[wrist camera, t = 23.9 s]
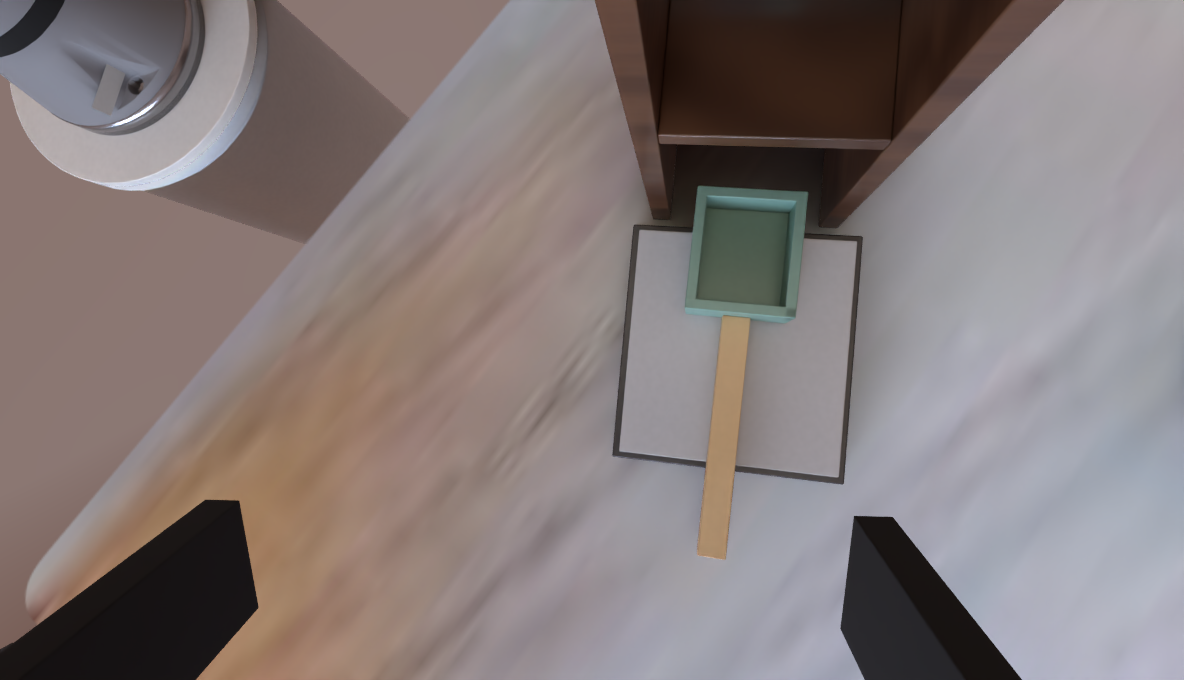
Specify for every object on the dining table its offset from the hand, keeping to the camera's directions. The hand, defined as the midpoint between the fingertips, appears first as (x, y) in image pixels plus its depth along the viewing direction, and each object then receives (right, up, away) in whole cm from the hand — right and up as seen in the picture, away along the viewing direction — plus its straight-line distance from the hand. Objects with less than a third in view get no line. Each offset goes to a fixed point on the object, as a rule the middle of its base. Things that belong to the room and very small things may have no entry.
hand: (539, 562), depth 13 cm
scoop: (+9, +3, +23) cm, 25 cm away
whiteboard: (+10, +4, +26) cm, 28 cm away
